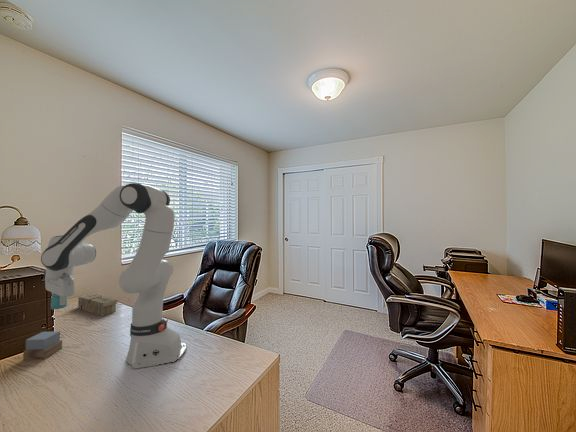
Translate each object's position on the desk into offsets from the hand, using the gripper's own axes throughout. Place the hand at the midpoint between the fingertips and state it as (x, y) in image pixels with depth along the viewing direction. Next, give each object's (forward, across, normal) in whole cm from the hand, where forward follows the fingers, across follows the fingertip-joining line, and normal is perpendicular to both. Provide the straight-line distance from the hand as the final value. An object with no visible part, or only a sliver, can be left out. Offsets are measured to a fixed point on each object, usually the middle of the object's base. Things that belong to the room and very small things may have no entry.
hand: (58, 303), depth 103 cm
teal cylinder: (+2, 0, 0) cm, 2 cm away
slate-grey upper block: (+16, -1, +4) cm, 17 cm away
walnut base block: (+20, -1, +4) cm, 20 cm away
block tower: (+20, +38, -30) cm, 52 cm away
